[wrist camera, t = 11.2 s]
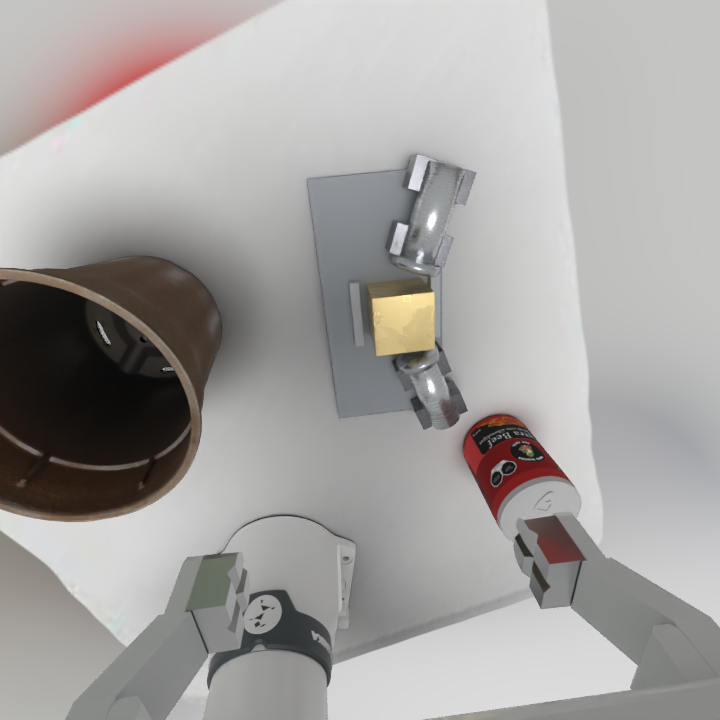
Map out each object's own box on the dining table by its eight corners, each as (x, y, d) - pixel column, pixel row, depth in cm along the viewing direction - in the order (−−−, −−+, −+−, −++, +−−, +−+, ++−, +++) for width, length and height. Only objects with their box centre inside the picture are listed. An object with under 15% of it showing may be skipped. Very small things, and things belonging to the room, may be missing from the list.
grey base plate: (438, 400, 43) (444, 411, 41) (338, 413, 42) (339, 424, 40) (438, 166, 33) (446, 165, 31) (307, 179, 32) (306, 179, 30)
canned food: (532, 411, 44) (592, 479, 34) (518, 467, 48) (569, 543, 38) (466, 413, 44) (508, 483, 34) (457, 469, 47) (493, 548, 37)
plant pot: (192, 199, 32) (85, 218, 18) (275, 363, 39) (247, 474, 25) (18, 268, 33) (-218, 340, 19) (128, 416, 40) (19, 552, 26)
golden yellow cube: (420, 277, 36) (434, 292, 31) (421, 328, 38) (434, 349, 33) (365, 283, 35) (372, 298, 31) (369, 334, 38) (376, 356, 33)
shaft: (459, 398, 41) (474, 422, 37) (418, 416, 42) (428, 441, 38) (433, 333, 38) (446, 352, 34) (388, 354, 39) (396, 375, 35)
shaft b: (411, 155, 31) (424, 152, 27) (465, 172, 32) (486, 172, 28) (382, 256, 34) (390, 267, 30) (432, 269, 35) (447, 281, 31)
